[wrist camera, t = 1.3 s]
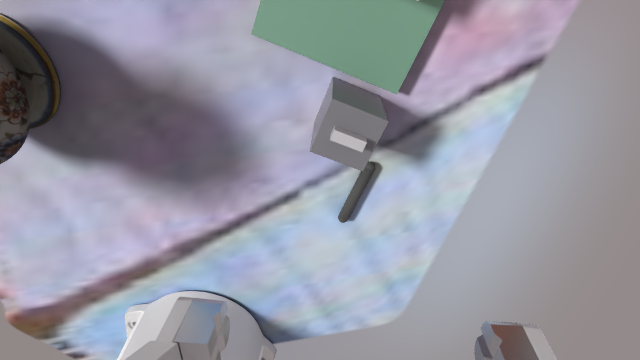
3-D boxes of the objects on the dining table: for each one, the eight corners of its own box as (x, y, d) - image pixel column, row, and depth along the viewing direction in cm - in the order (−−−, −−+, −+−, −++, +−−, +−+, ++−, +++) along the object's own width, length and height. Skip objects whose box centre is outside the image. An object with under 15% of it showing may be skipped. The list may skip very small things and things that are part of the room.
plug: (358, 139, 32) (363, 176, 26) (314, 121, 31) (309, 156, 26) (379, 95, 30) (390, 125, 24) (333, 76, 29) (331, 102, 24)
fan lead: (345, 219, 36) (346, 225, 35) (336, 216, 36) (336, 222, 35) (376, 162, 33) (377, 167, 32) (366, 158, 33) (367, 163, 32)
